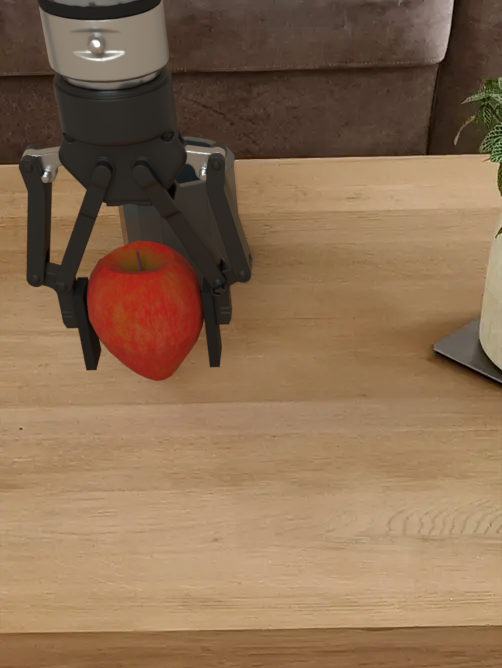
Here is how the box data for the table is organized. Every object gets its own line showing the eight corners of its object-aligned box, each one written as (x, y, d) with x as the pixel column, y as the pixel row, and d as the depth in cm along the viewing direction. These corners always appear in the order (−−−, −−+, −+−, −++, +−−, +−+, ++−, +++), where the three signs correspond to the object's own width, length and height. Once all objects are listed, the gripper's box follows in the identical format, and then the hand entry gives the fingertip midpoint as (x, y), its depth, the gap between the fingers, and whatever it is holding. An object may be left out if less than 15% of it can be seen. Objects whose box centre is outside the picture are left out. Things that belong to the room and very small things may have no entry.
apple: (106, 345, 93) (84, 223, 86) (214, 340, 94) (200, 219, 87) (95, 409, 86) (70, 282, 80) (211, 402, 87) (196, 277, 81)
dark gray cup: (107, 277, 107) (89, 176, 101) (161, 226, 115) (148, 129, 109) (213, 297, 105) (201, 195, 98) (261, 243, 113) (253, 146, 106)
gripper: (-74, 91, 72) (2, 391, 86) (275, 89, 73) (294, 383, 87) (-45, 48, 77) (22, 335, 91) (278, 47, 79) (295, 329, 93)
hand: (155, 358), depth 89 cm, fingers closed on apple, 8 cm apart
